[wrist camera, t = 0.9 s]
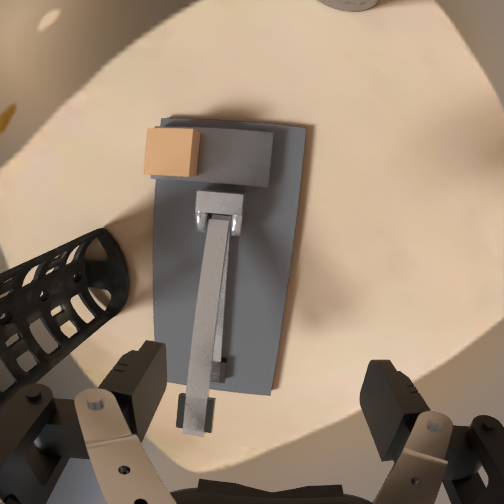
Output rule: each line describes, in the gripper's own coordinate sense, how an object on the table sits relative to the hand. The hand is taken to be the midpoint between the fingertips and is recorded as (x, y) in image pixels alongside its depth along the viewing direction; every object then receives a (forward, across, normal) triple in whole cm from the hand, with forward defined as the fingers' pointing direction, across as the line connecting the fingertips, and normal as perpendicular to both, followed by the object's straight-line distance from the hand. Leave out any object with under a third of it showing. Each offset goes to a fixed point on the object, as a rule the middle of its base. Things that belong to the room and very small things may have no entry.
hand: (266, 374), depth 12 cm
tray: (+22, +4, +2) cm, 22 cm away
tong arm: (+14, +5, +5) cm, 16 cm away
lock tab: (+18, +9, -9) cm, 22 cm away
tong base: (+20, +6, +2) cm, 21 cm away
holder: (+22, +19, +4) cm, 29 cm away
